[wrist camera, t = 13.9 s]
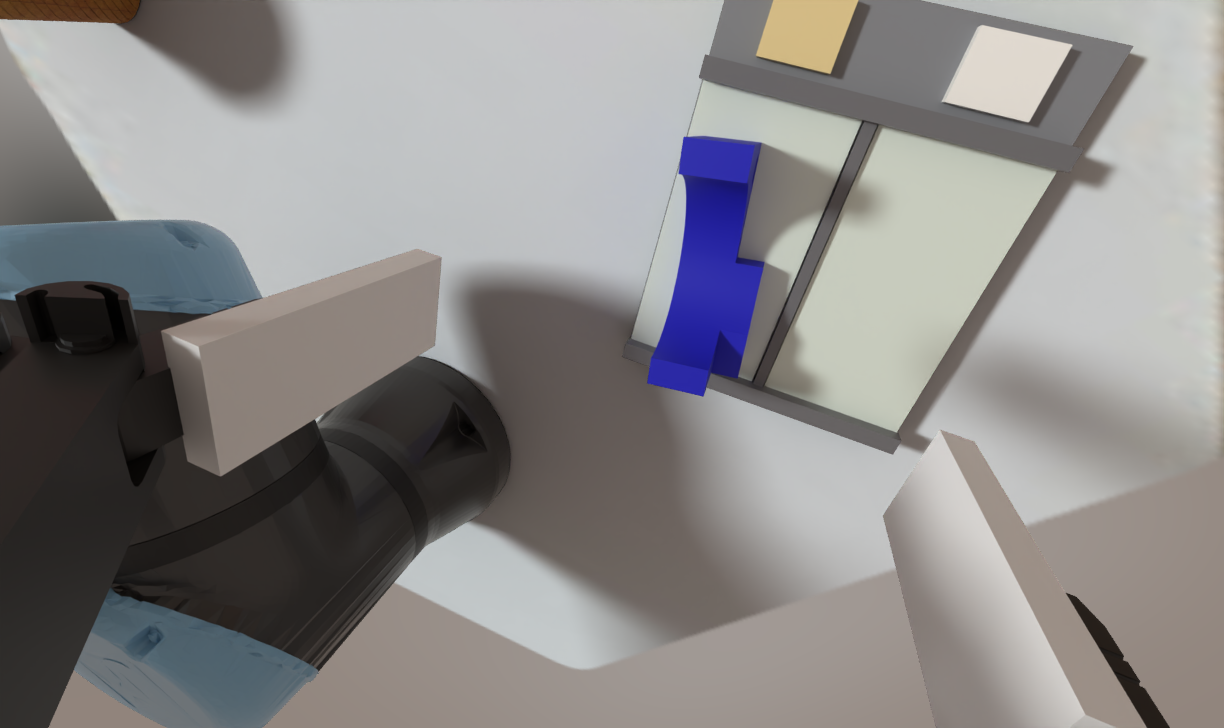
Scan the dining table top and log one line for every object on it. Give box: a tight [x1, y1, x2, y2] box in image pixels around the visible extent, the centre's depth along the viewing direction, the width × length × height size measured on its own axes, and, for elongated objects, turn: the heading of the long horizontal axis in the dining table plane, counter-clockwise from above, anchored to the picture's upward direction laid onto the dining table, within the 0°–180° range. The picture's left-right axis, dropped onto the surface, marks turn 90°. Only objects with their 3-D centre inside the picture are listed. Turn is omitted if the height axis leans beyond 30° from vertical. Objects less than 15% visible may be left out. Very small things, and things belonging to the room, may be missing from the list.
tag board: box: [622, 0, 1133, 454], centre depth 27 cm, size 17×21×2 cm
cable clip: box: [647, 136, 765, 396], centre depth 27 cm, size 12×4×6 cm, turn 174°
